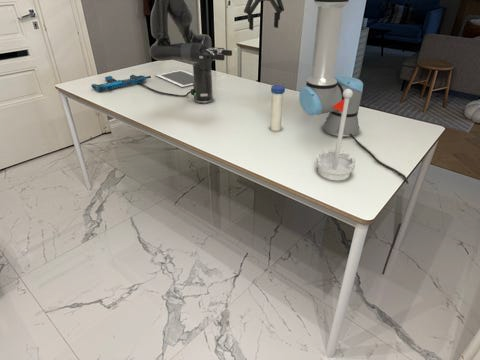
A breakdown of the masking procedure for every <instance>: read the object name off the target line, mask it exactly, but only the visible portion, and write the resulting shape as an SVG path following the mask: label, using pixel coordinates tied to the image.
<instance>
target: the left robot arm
mask: <svg viewBox="0 0 480 360" xmlns="http://www.w3.org/2000/svg"><path fill="white" fill-rule="evenodd" d="M168 16H169V17H170V19H171V21H172V22H173V23H174V25H175V27H176V28H177V30H178V32H179V33H180V35H181V37H182V39H183V41H184V42H171V39H170V36H169V35H170V34H169V21H168V19H169V17H168ZM192 23H193V13H192V10H191V8H190V7H189V4H188V3H187V1H186V0H154V3H153V6H152V9H151V11H150V31H151V33H150V34H151V36H152V37H153V38H154V39H156V41H155V42H154V43H153V44H152V45H151V46H150V47H149V50H148V51H149V55H150V57H151V58H152V59H153V60H156V61H158V62H164V61H173V60H179V61H185V62H192V74H194V82H193V85H192V86H193V88H191V89H190V91H188V92H187V93H186V94H183V95H180V94H175V93H168V92H163V91H158V90H155V89H153V88H151V87H148V86H147V85H145V84H143V83H136V84H137V85H140V86H142V87H143V88H146V89H148V90H150V91H152V92H155V93H158V94H161V95H165V96H166V95H167V96H172V97H173V96H174V97H180V98H184V97H188V95H189V94H190V95H191V96H193V98H194V101H195V102H196V103H198V104H209V103H212V102H213V100H214V96H213V79H212V78H213V77H212V62H214V61H225V58H226V57H231V56H233V50H231V49H225V48H224V47H213V42H212V38H211V37H210V35H208V34H203V33H195V31H194V30H193V28H192ZM225 56H226V57H225ZM136 84H135V85H136Z"/></svg>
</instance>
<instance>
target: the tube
mask: <svg viewBox="0 0 480 360" xmlns="http://www.w3.org/2000/svg"><path fill="white" fill-rule="evenodd" d="M283 105H284V93H282V94H274V93H272V92H271V107H270V108H271V109H270V110H271V111H270V131H273V132H279V131H281V130H282V120H283V119H282V118H283Z"/></svg>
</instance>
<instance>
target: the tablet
mask: <svg viewBox="0 0 480 360" xmlns="http://www.w3.org/2000/svg"><path fill="white" fill-rule="evenodd" d="M155 77H157V78H159V79H162V80H164V81H165V82H166V81H167V82H168V83H171V84H174V85H175V86H178V87H181V88H187V87H191V86H193V82H194V74H193V72H189V71H187V70H184V69H177V70H174V71H168V72H164V73H160V74H155Z"/></svg>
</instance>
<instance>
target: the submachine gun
mask: <svg viewBox="0 0 480 360" xmlns="http://www.w3.org/2000/svg"><path fill="white" fill-rule="evenodd" d="M151 78H152V76H151V75H147V76H145V75H135V74H130V75H129V78H126V79H118V80H117V79H115V78H113V76H112V75H108V76H105V77H104V80H105V81H106V82H105V83H100V84H97V83H91V84H90V85H91V88H92V89H93V90H95V91H96V92H103V91H109V92H111V91H112V89H117V88H122V87H126V86H130V85H136V83H141V84H143V83H145V82H146V81H147V79H151Z"/></svg>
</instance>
